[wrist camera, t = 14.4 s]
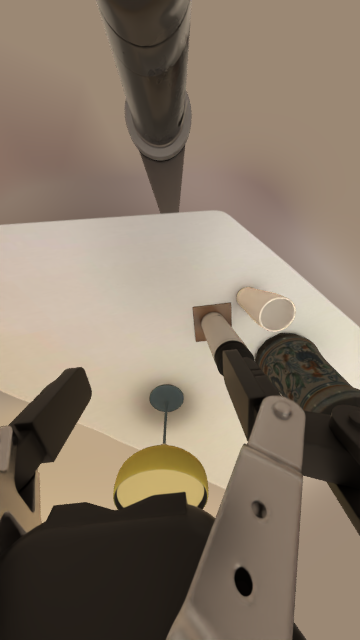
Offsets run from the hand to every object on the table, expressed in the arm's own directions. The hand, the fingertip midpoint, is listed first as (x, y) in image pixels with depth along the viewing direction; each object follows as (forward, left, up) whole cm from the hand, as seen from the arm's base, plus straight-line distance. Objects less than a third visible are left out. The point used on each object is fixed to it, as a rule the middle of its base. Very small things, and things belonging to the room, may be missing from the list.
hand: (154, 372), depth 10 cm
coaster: (+12, +10, -36) cm, 39 cm away
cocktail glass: (+36, -6, -36) cm, 51 cm away
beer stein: (+27, +30, -36) cm, 54 cm away
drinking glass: (+6, +19, -36) cm, 41 cm away
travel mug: (+12, +10, -36) cm, 39 cm away
